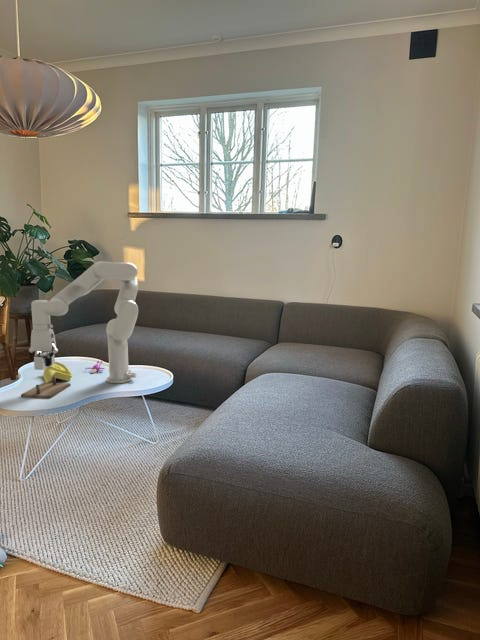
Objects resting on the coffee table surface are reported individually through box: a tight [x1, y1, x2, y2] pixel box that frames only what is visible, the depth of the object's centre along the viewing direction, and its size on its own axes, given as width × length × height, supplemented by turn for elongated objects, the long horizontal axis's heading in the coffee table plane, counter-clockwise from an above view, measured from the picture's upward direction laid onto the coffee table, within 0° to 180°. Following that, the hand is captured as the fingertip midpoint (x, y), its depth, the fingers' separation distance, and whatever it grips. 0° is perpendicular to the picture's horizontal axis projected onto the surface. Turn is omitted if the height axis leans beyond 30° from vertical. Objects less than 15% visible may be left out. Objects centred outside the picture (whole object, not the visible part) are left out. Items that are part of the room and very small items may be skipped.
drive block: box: [33, 352, 55, 371], centre depth 198 cm, size 4×10×6 cm, turn 173°
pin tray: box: [20, 376, 71, 399], centre depth 199 cm, size 14×18×5 cm
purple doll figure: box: [84, 360, 106, 375], centre depth 233 cm, size 11×3×12 cm
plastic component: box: [42, 361, 73, 383], centre depth 221 cm, size 20×8×10 cm
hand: (44, 365), depth 198 cm, fingers closed on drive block, 4 cm apart
